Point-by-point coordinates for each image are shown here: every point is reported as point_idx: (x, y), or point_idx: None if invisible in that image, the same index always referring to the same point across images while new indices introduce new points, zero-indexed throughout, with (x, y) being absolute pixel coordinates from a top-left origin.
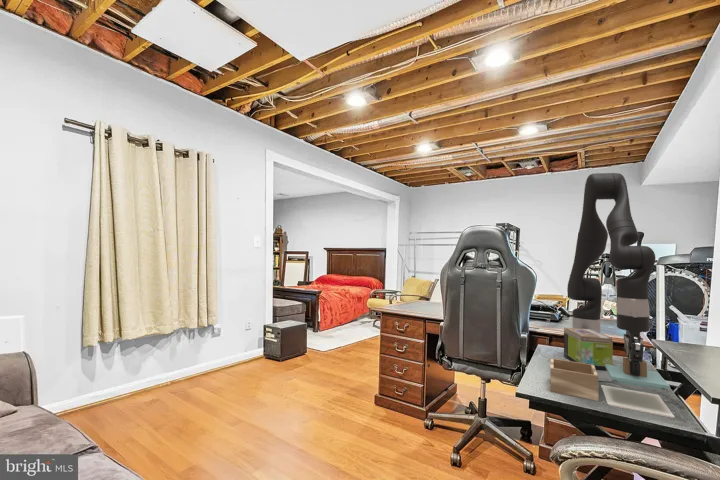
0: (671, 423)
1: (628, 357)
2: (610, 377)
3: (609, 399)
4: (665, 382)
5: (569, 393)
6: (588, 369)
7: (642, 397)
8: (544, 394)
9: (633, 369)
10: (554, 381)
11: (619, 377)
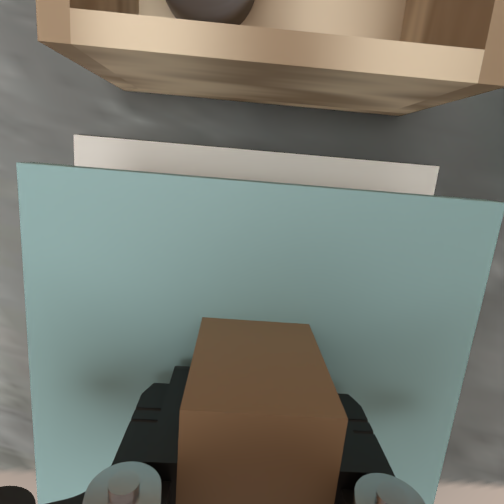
0: (6, 382)
1: (363, 490)
2: (70, 165)
3: (161, 160)
4: None
5: None
6: (455, 37)
7: None
8: None
9: (134, 418)
10: None
11: (28, 239)
